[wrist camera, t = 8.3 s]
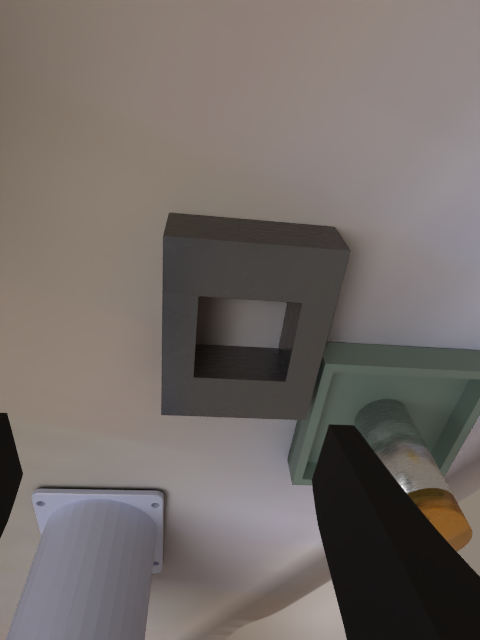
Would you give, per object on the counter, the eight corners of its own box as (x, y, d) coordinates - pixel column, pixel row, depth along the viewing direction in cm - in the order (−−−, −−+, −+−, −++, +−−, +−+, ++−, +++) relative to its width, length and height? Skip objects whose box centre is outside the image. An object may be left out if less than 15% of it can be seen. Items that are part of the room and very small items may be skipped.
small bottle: (416, 402, 23) (485, 523, 17) (394, 439, 25) (451, 561, 19) (366, 395, 23) (419, 518, 17) (346, 434, 24) (389, 557, 19)
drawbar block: (297, 385, 23) (305, 420, 21) (166, 379, 22) (161, 414, 20) (334, 226, 18) (350, 250, 16) (168, 212, 17) (163, 235, 15)
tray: (425, 463, 27) (438, 487, 26) (287, 459, 26) (292, 484, 25) (483, 350, 22) (503, 372, 21) (317, 341, 21) (325, 363, 20)
